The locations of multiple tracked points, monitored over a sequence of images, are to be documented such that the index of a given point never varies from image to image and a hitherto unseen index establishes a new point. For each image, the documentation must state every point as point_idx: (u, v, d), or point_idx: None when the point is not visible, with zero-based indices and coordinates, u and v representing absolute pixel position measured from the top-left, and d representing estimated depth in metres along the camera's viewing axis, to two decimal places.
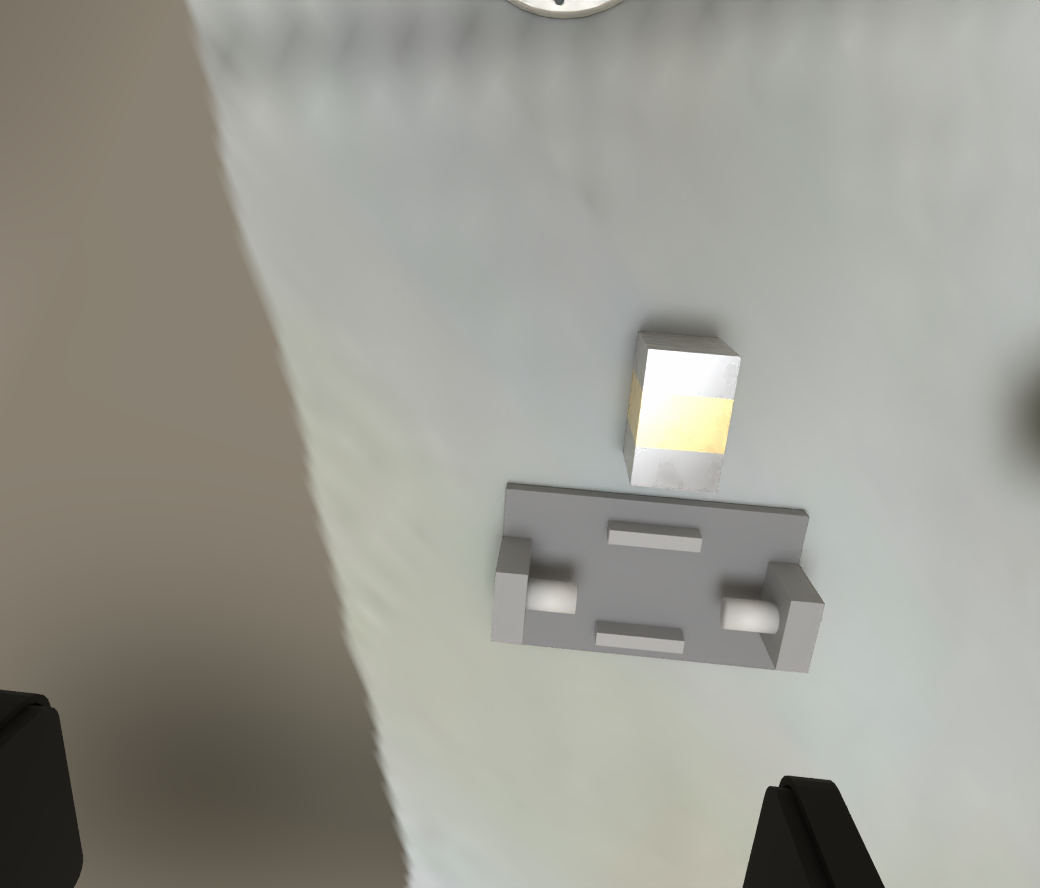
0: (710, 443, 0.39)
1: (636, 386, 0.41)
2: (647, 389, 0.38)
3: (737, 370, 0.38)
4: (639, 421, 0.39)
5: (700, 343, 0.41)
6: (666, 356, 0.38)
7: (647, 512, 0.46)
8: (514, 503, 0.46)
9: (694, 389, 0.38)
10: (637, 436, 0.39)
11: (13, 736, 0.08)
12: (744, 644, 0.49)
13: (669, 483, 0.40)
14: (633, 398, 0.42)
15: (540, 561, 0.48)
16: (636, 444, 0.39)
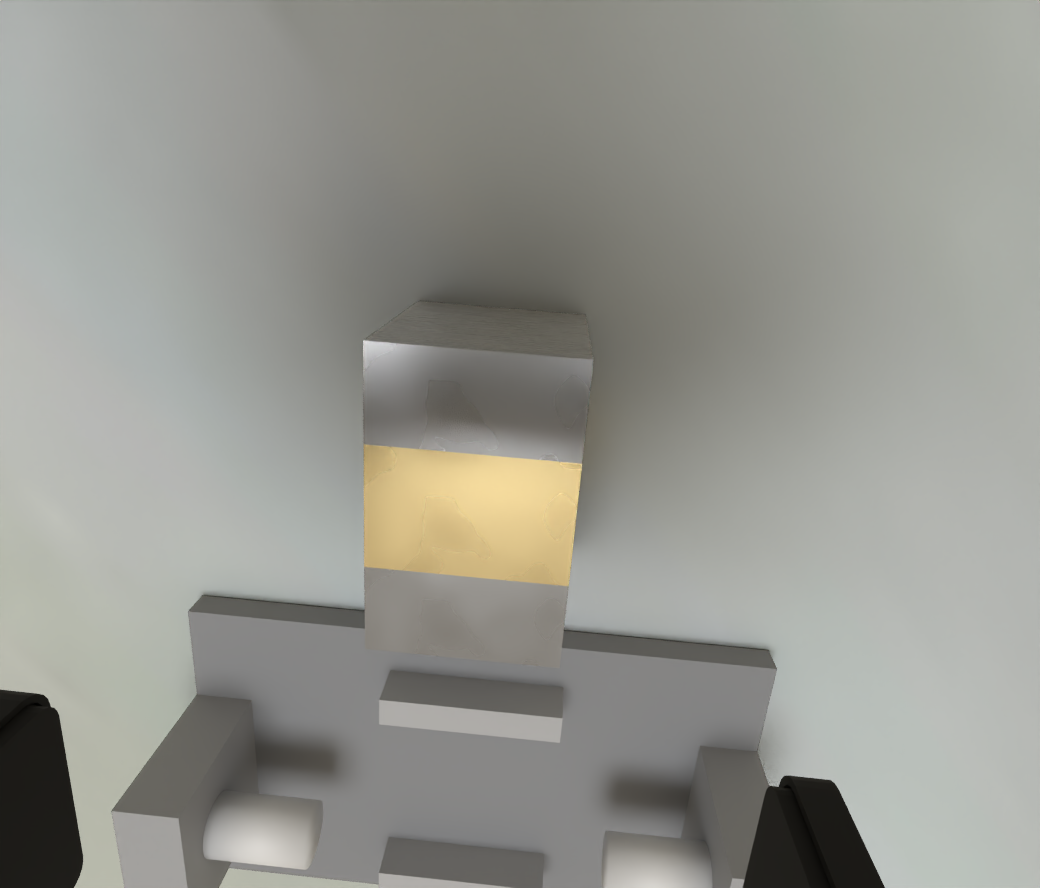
0: (535, 562, 0.17)
1: None
2: (374, 438, 0.16)
3: (586, 393, 0.15)
4: (366, 511, 0.16)
5: (527, 326, 0.18)
6: (409, 359, 0.15)
7: None
8: (208, 637, 0.24)
9: (485, 440, 0.16)
10: (366, 545, 0.17)
11: (12, 736, 0.08)
12: None
13: (450, 646, 0.17)
14: None
15: (273, 738, 0.25)
16: (366, 562, 0.17)
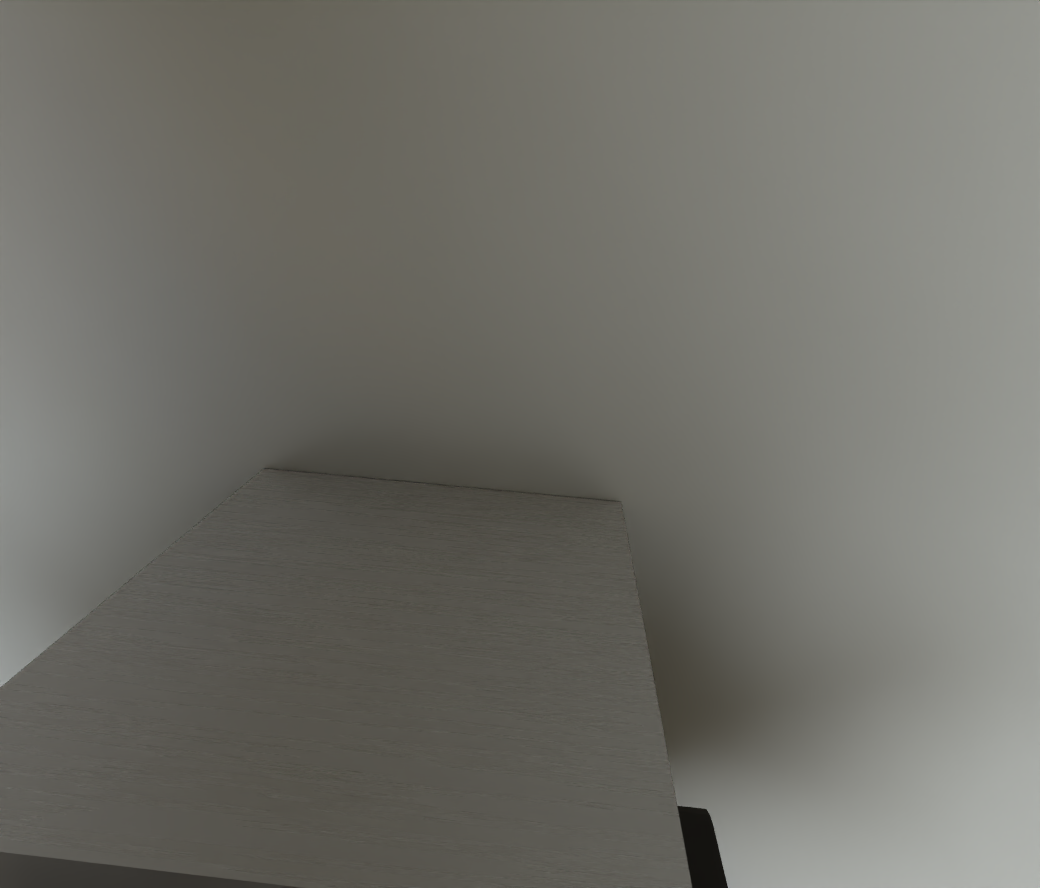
0: None
1: None
2: None
3: None
4: None
5: (482, 592, 0.07)
6: None
7: None
8: None
9: None
10: None
11: None
12: None
13: None
14: None
15: None
16: None
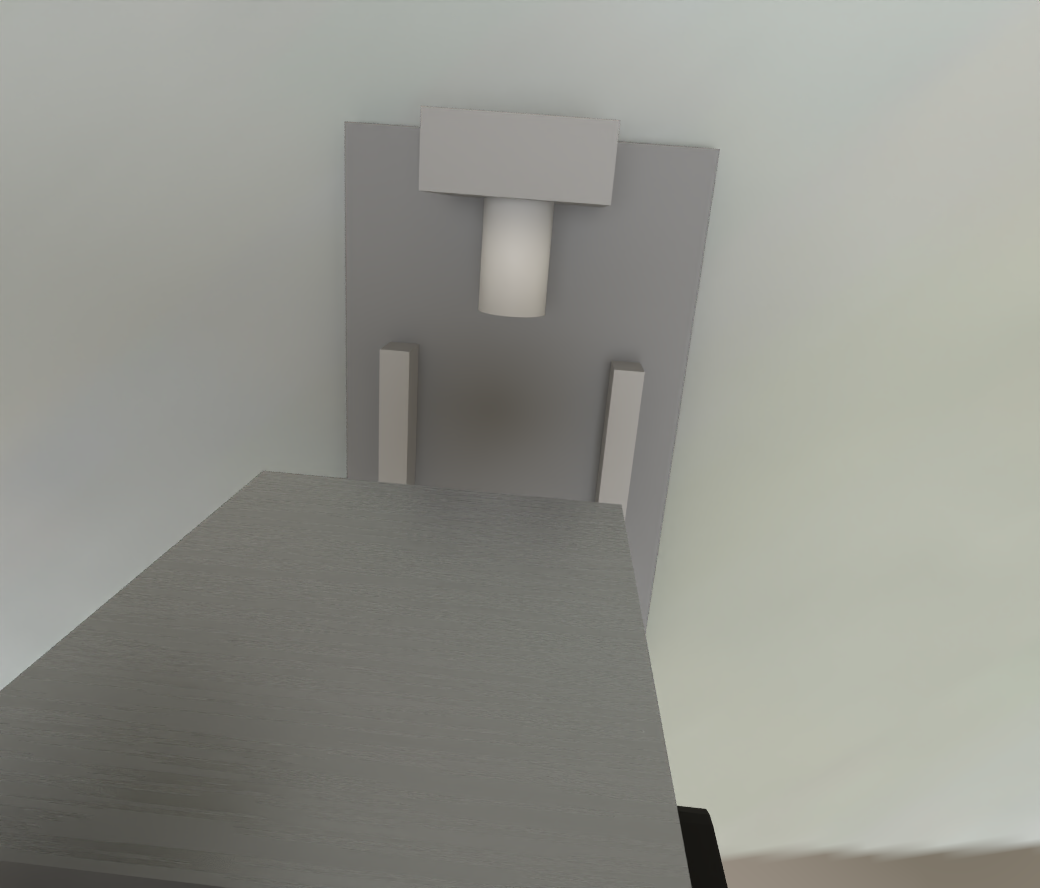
0: None
1: None
2: None
3: None
4: None
5: (482, 596, 0.07)
6: None
7: (366, 432, 0.25)
8: None
9: None
10: None
11: None
12: (650, 226, 0.23)
13: None
14: None
15: None
16: None
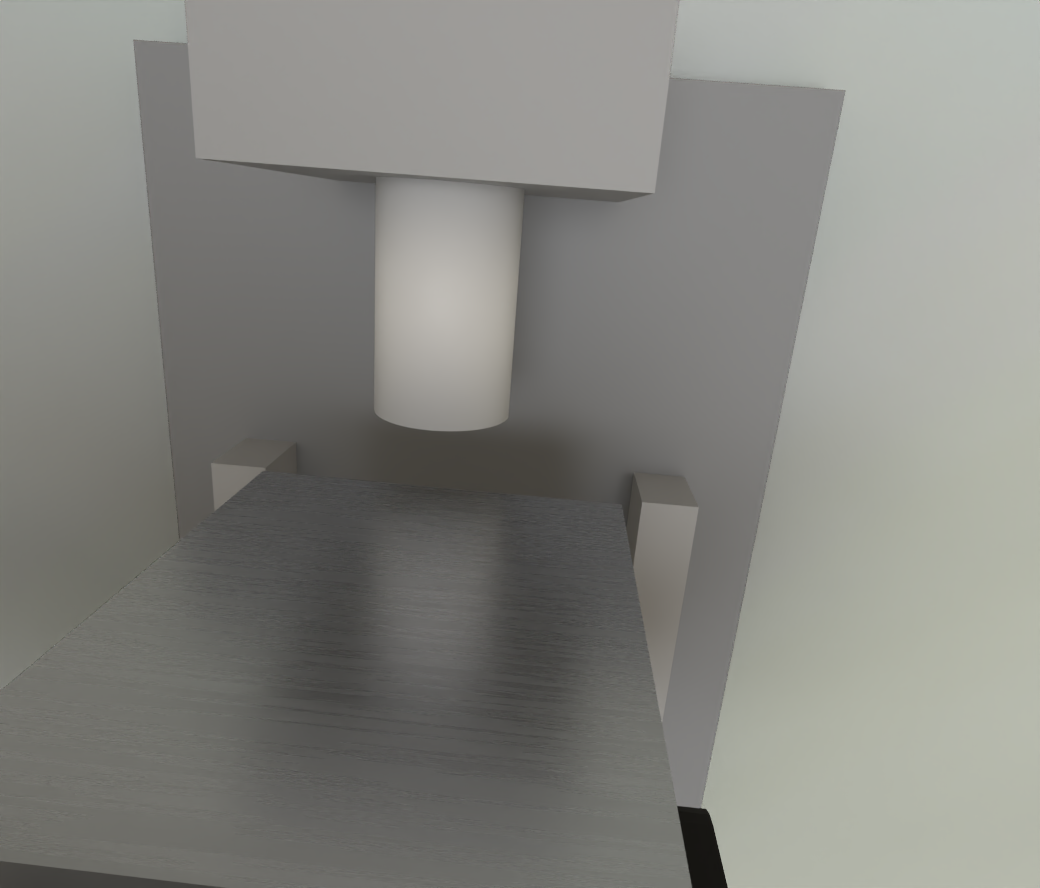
0: None
1: None
2: None
3: None
4: None
5: (482, 595, 0.07)
6: None
7: None
8: None
9: None
10: None
11: None
12: (709, 237, 0.12)
13: None
14: None
15: None
16: None
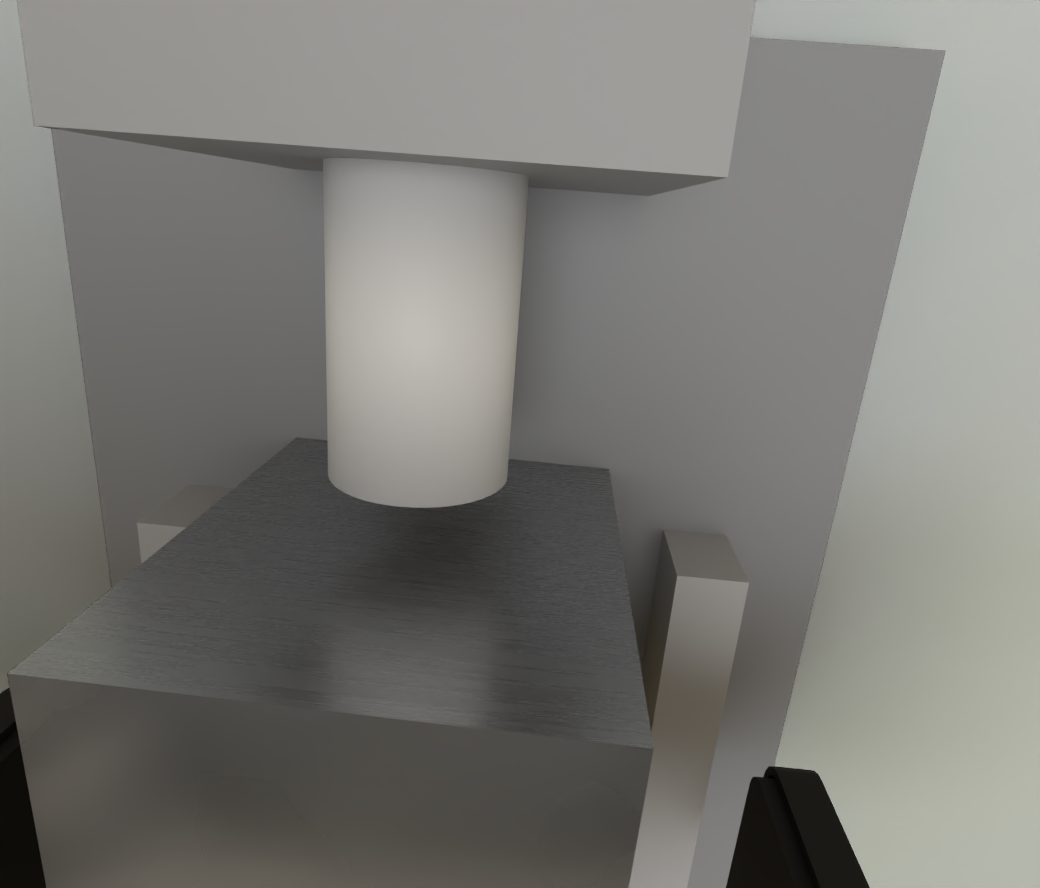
0: None
1: None
2: None
3: (630, 826, 0.05)
4: None
5: (490, 533, 0.08)
6: (139, 724, 0.05)
7: None
8: None
9: None
10: None
11: None
12: (763, 240, 0.10)
13: None
14: None
15: None
16: None
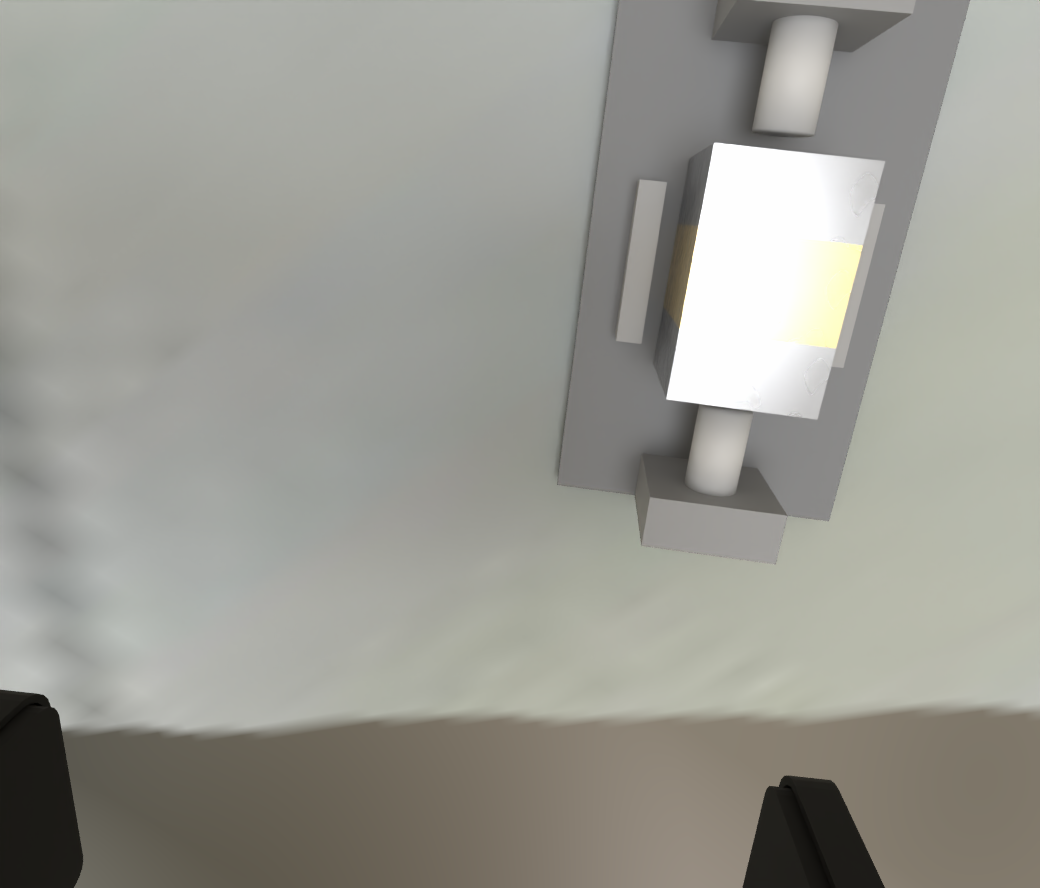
0: (813, 327, 0.22)
1: (683, 238, 0.25)
2: (707, 221, 0.21)
3: (875, 188, 0.21)
4: (689, 282, 0.22)
5: None
6: (746, 158, 0.21)
7: (603, 270, 0.28)
8: (581, 474, 0.31)
9: (792, 224, 0.21)
10: (683, 310, 0.22)
11: (13, 736, 0.08)
12: (896, 71, 0.25)
13: (734, 399, 0.23)
14: (676, 264, 0.26)
15: (683, 442, 0.30)
16: (681, 325, 0.22)
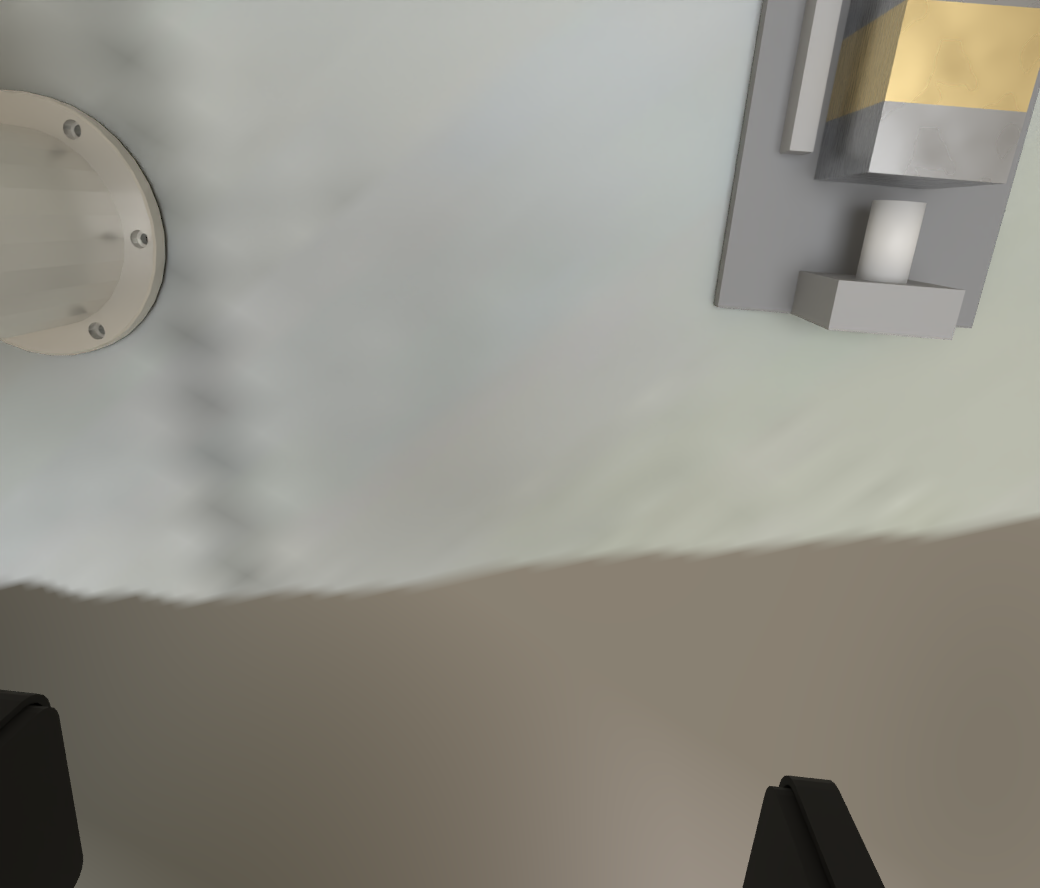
0: (1007, 93, 0.24)
1: (867, 36, 0.27)
2: None
3: None
4: (895, 55, 0.24)
5: None
6: None
7: (771, 89, 0.30)
8: (741, 295, 0.33)
9: None
10: (889, 83, 0.25)
11: (13, 736, 0.08)
12: None
13: (931, 167, 0.25)
14: (854, 66, 0.28)
15: (838, 257, 0.32)
16: (885, 98, 0.25)
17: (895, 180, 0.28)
